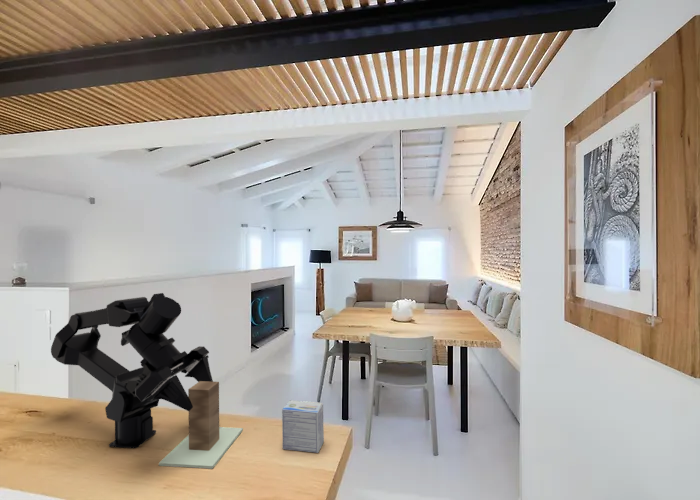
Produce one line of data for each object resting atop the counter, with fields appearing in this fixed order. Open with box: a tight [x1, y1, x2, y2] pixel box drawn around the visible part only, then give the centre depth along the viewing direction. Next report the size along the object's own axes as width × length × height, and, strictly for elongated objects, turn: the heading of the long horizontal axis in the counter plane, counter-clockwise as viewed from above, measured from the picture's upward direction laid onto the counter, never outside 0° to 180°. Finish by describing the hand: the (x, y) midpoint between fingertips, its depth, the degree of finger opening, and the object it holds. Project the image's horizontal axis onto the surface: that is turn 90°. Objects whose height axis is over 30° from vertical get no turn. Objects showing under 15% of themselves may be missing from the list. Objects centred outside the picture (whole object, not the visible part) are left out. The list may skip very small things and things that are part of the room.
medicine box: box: [281, 399, 325, 454], centre depth 73 cm, size 8×4×9 cm, turn 79°
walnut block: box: [187, 381, 220, 451], centre depth 73 cm, size 4×4×12 cm
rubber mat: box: [158, 426, 244, 470], centre depth 73 cm, size 11×14×1 cm
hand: (202, 399), depth 73 cm, fingers open, 9 cm apart
